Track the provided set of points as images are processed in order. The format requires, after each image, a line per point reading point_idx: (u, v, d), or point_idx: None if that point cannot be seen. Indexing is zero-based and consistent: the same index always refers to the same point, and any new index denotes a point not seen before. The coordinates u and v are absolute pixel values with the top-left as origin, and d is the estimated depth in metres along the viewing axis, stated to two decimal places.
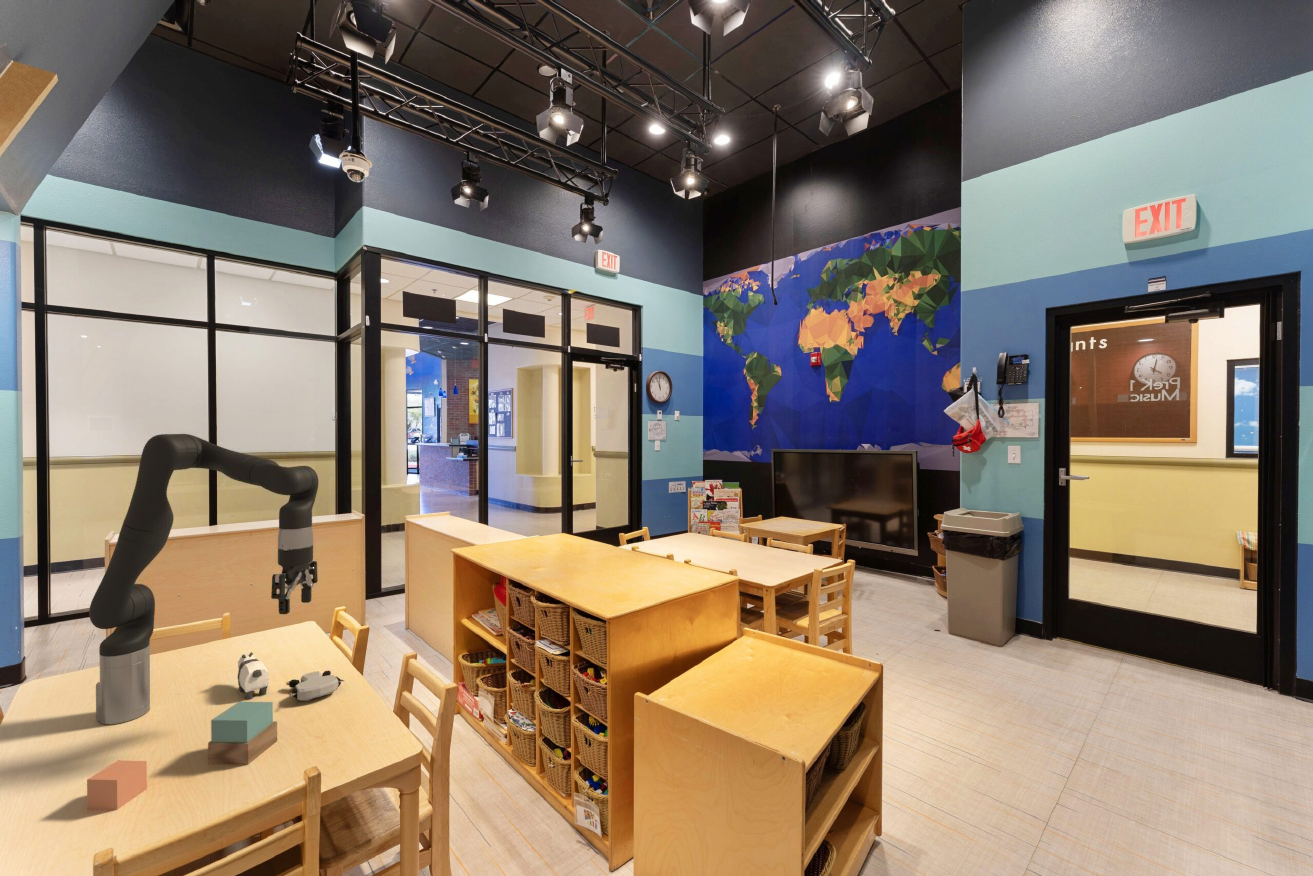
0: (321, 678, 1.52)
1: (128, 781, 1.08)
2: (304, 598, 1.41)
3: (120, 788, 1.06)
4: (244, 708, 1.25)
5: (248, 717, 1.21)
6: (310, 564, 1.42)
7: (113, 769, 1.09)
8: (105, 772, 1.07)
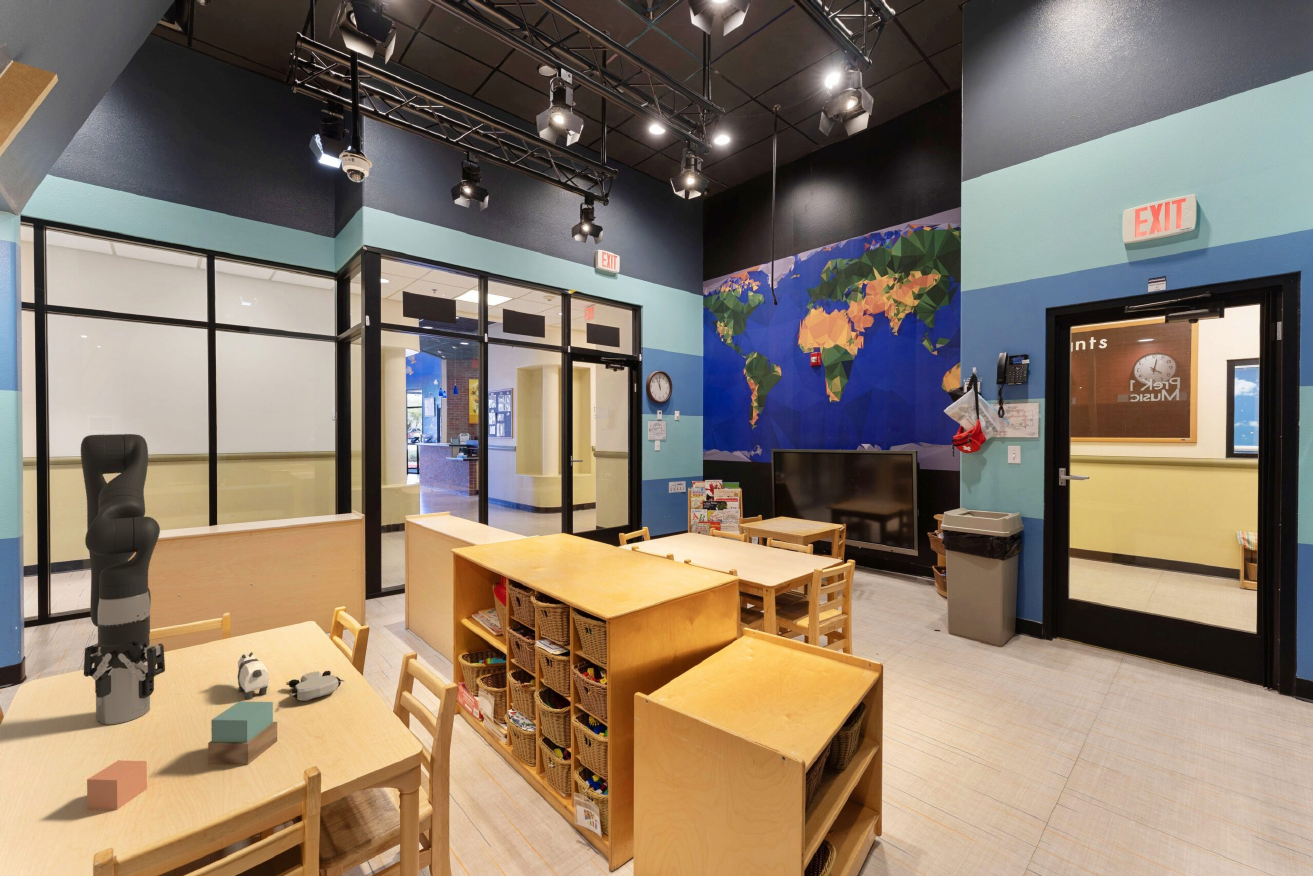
0: (321, 678, 1.52)
1: (128, 781, 1.08)
2: (104, 691, 1.09)
3: (120, 788, 1.06)
4: (244, 708, 1.25)
5: (248, 717, 1.21)
6: None
7: (113, 769, 1.09)
8: (105, 772, 1.07)
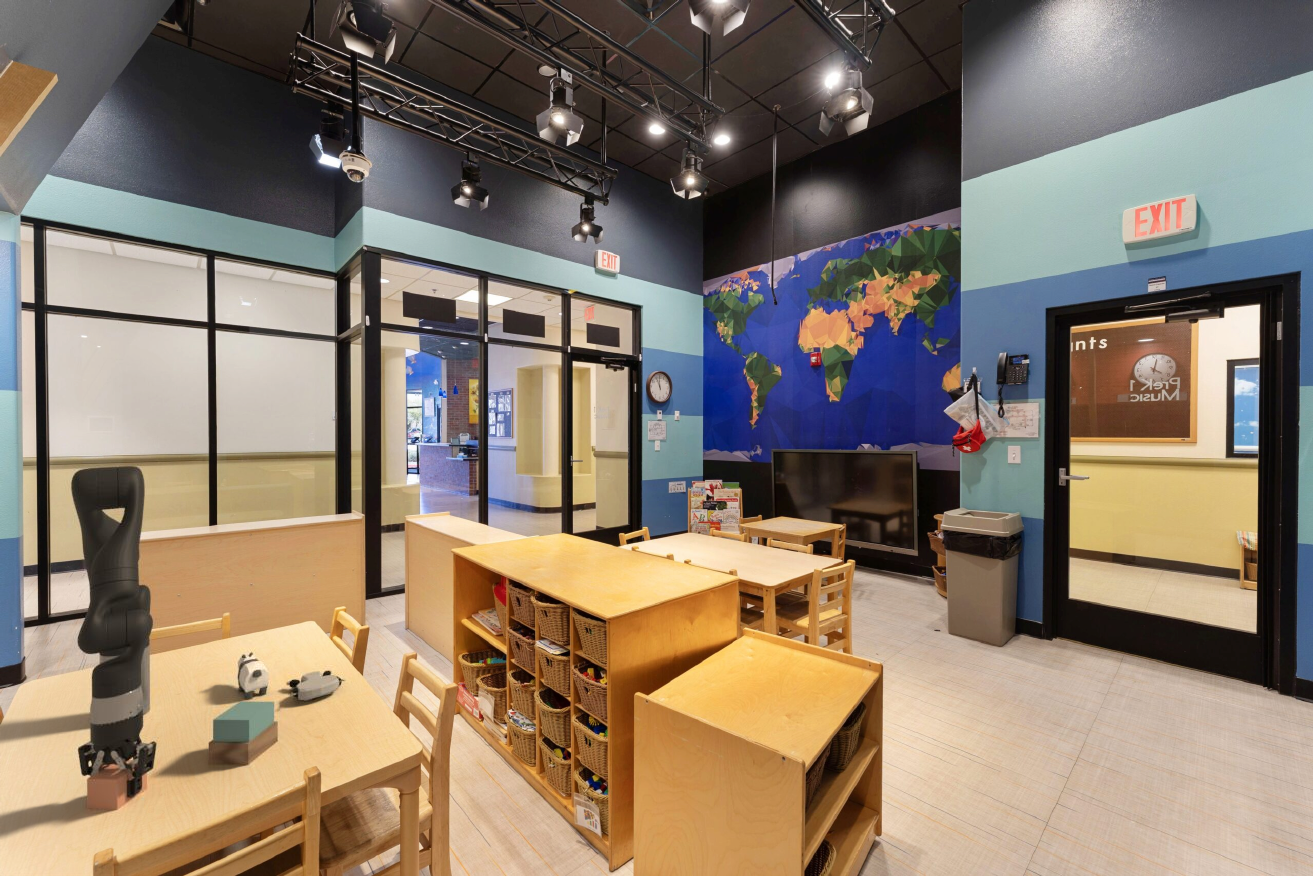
0: (322, 678, 1.52)
1: None
2: None
3: (121, 787, 1.06)
4: (245, 708, 1.25)
5: (250, 717, 1.21)
6: None
7: (113, 769, 1.09)
8: (105, 772, 1.07)
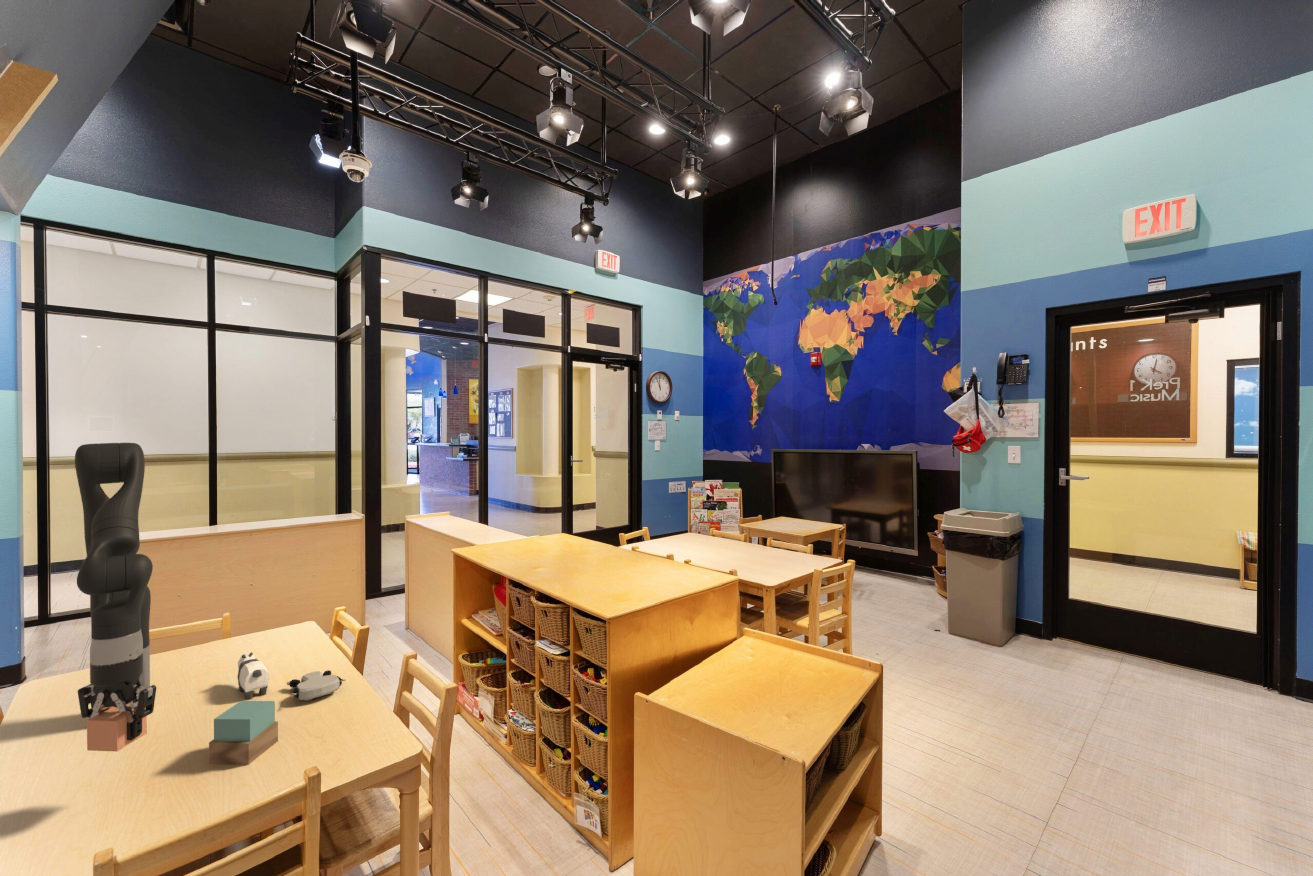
0: (322, 678, 1.52)
1: None
2: None
3: (120, 729, 1.06)
4: (246, 707, 1.25)
5: (251, 716, 1.22)
6: None
7: (113, 712, 1.08)
8: (105, 715, 1.07)
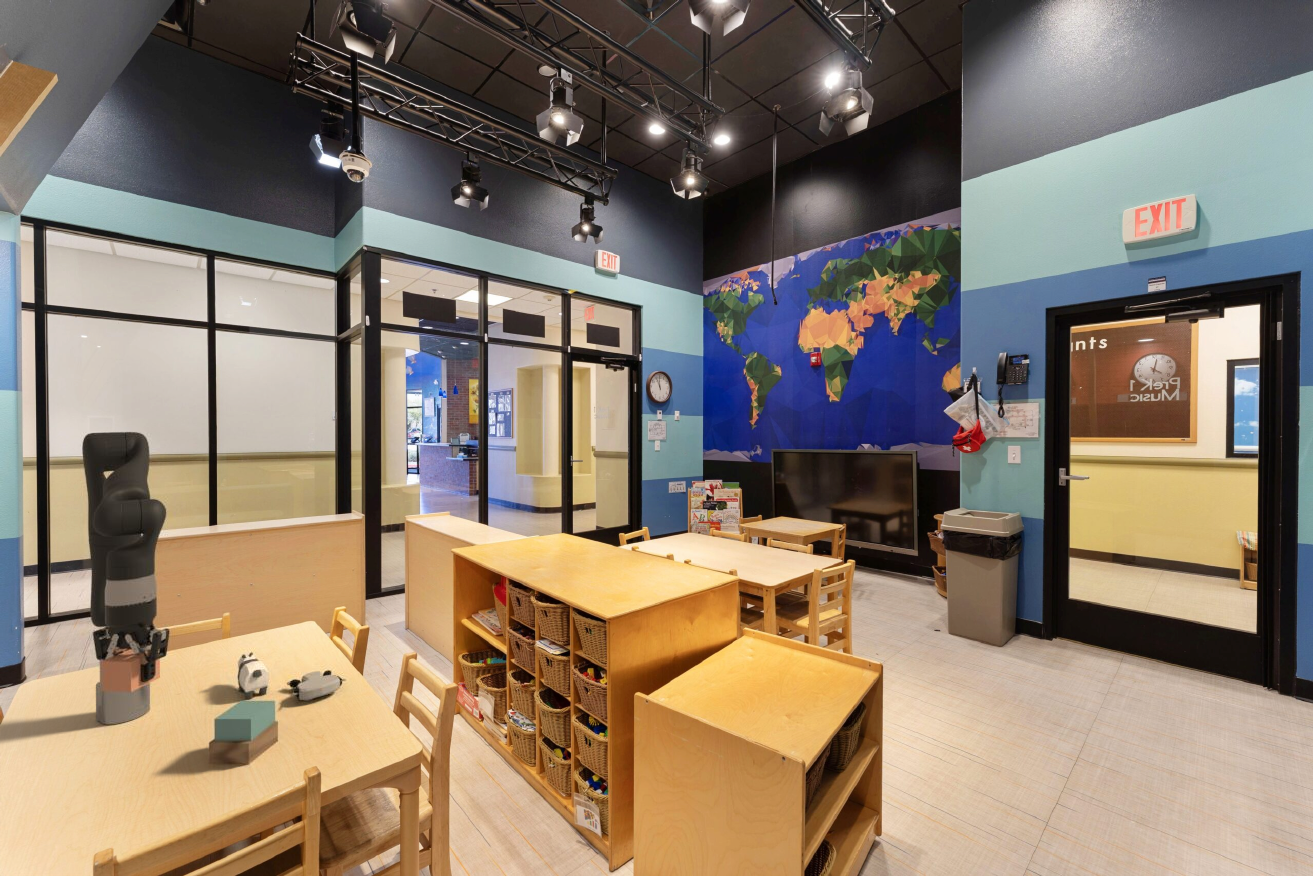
0: (322, 678, 1.53)
1: None
2: None
3: (134, 670, 1.07)
4: (247, 707, 1.25)
5: (252, 716, 1.22)
6: None
7: (126, 654, 1.10)
8: (119, 657, 1.09)
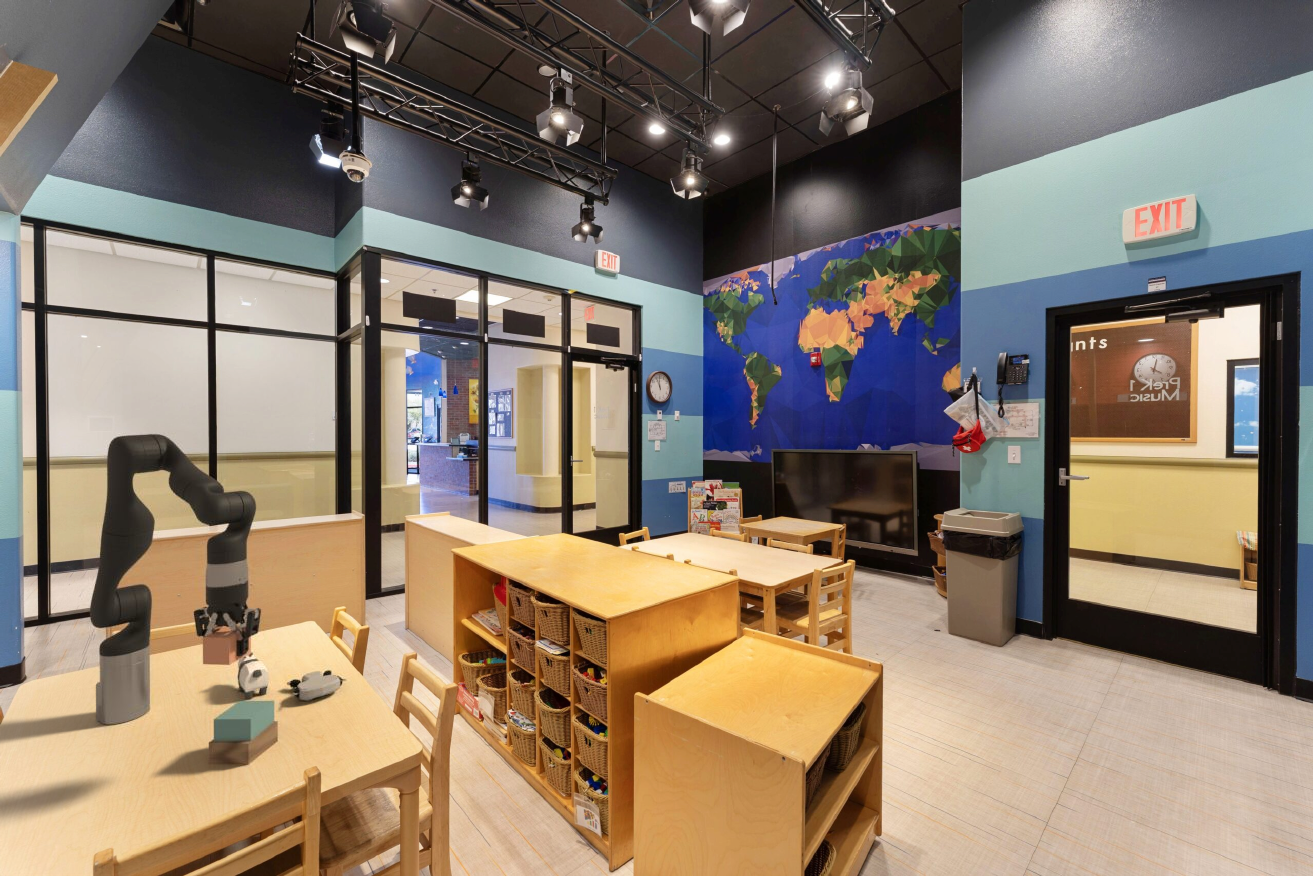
0: (323, 678, 1.53)
1: None
2: None
3: (231, 645, 1.19)
4: (246, 707, 1.25)
5: (252, 716, 1.22)
6: None
7: (223, 632, 1.21)
8: (217, 633, 1.20)
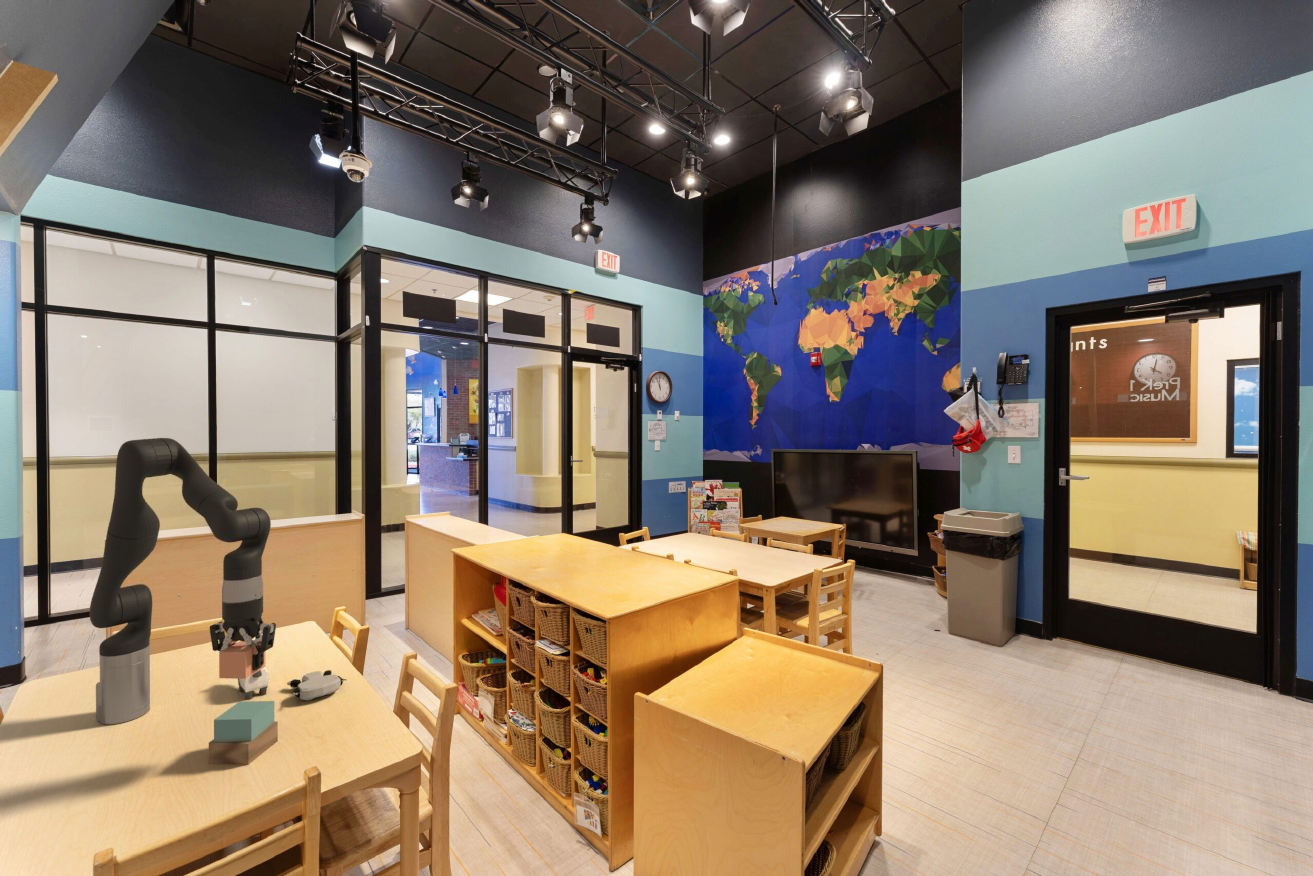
0: (323, 677, 1.53)
1: None
2: None
3: (248, 660, 1.21)
4: (246, 708, 1.25)
5: (252, 716, 1.22)
6: None
7: (238, 646, 1.24)
8: (233, 648, 1.23)
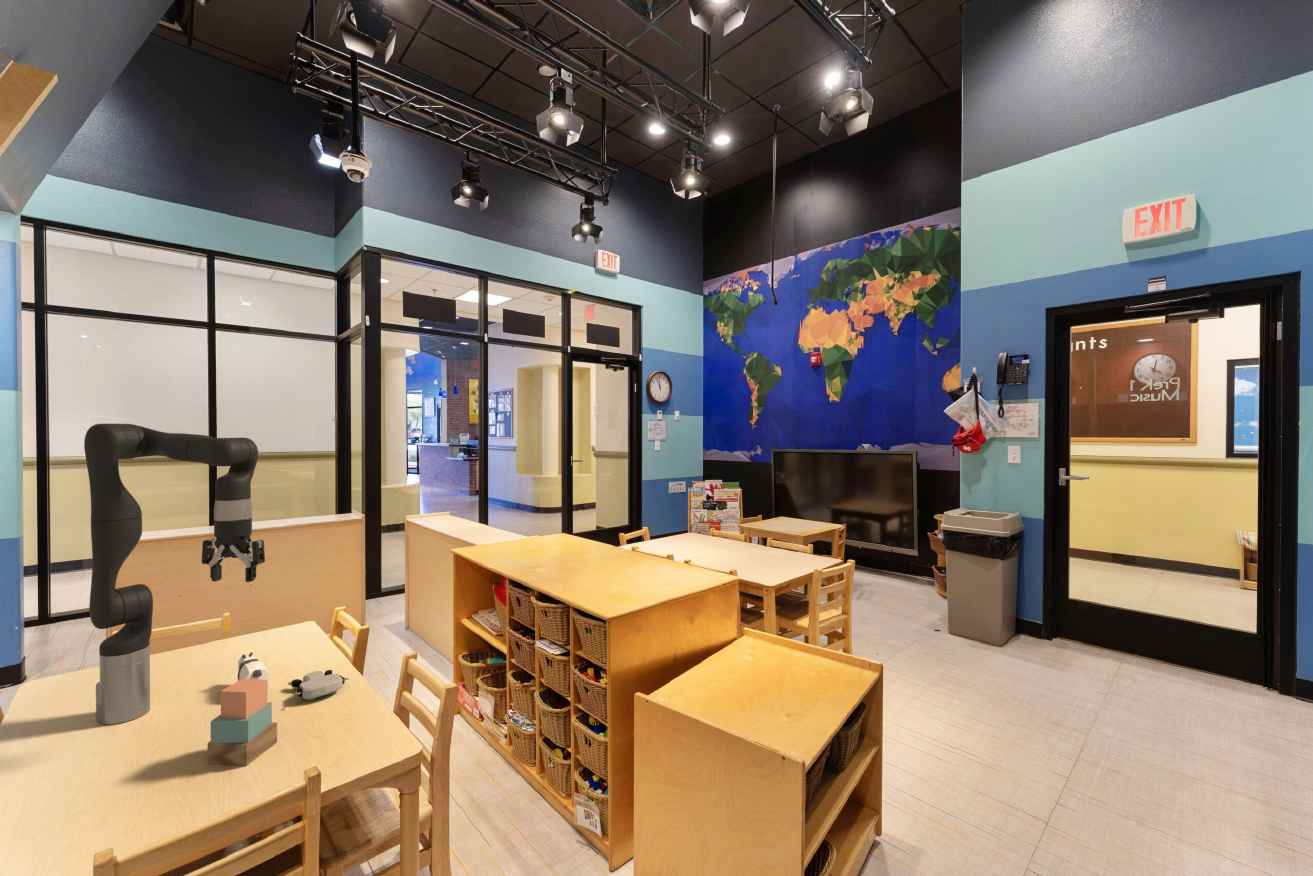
0: (325, 677, 1.53)
1: (254, 695, 1.23)
2: (217, 576, 1.35)
3: (248, 699, 1.21)
4: None
5: (249, 718, 1.21)
6: None
7: (240, 684, 1.24)
8: (235, 687, 1.23)
